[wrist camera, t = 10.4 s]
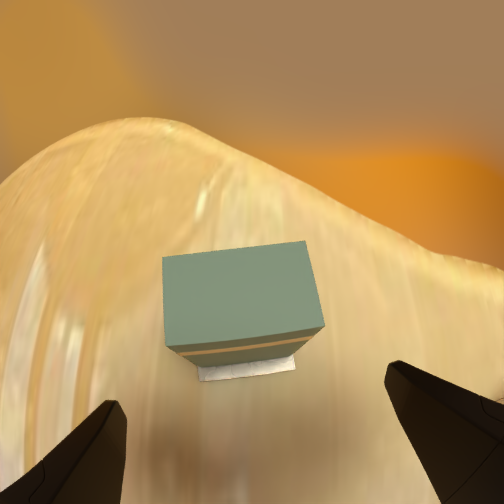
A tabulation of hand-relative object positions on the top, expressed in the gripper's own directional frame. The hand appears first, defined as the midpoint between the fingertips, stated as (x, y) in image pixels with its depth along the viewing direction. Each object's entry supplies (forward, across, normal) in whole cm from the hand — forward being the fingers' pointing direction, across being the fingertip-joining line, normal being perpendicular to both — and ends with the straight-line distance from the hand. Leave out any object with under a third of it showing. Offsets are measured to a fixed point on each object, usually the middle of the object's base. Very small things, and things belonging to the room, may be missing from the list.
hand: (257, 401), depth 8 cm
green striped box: (+12, 0, +6) cm, 13 cm away
